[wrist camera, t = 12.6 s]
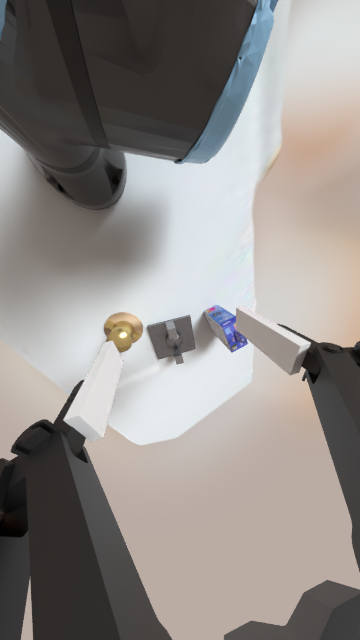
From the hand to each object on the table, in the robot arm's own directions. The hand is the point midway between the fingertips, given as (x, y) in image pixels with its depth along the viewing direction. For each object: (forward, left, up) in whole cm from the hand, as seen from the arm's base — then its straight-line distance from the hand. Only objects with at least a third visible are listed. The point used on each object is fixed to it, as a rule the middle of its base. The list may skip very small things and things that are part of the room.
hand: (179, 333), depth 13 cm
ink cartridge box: (+15, +16, -26) cm, 34 cm away
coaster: (+10, -14, -26) cm, 31 cm away
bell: (+10, -14, -25) cm, 31 cm away
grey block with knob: (+18, 0, -26) cm, 32 cm away
